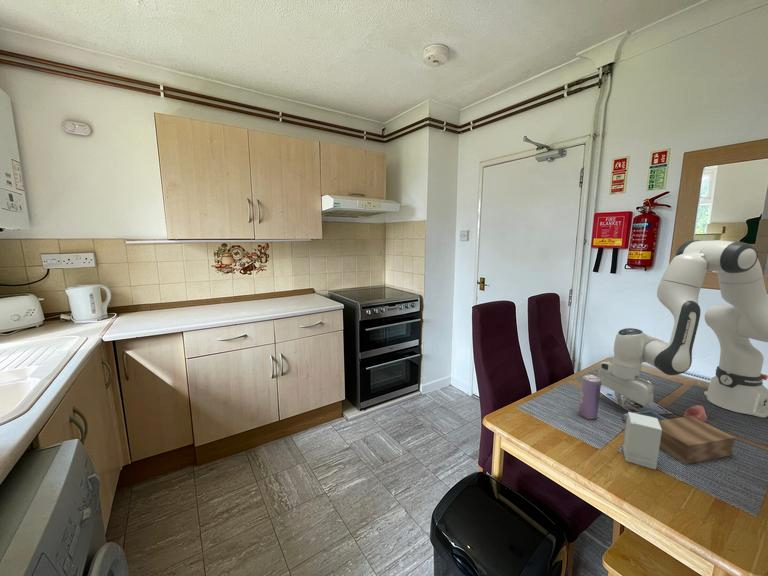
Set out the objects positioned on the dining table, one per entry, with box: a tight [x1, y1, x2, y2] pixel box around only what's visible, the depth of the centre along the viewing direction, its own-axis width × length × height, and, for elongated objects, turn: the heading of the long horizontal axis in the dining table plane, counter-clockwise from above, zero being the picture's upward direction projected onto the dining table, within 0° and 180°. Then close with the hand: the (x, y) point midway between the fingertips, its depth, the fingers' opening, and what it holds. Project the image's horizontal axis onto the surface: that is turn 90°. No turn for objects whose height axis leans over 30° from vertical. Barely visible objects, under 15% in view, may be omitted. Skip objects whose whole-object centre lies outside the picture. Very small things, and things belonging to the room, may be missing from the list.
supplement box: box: [622, 411, 662, 470], centre depth 96 cm, size 7×7×13 cm
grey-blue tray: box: [622, 409, 668, 423], centre depth 109 cm, size 12×19×2 cm, turn 12°
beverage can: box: [578, 374, 602, 420], centre depth 119 cm, size 6×6×15 cm
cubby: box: [659, 416, 736, 465], centre depth 102 cm, size 18×12×6 cm, turn 102°
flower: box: [683, 404, 708, 423], centre depth 115 cm, size 8×8×6 cm
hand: (621, 404), depth 124 cm, fingers closed
